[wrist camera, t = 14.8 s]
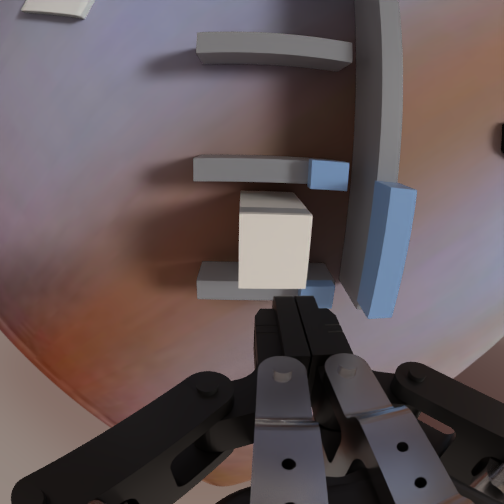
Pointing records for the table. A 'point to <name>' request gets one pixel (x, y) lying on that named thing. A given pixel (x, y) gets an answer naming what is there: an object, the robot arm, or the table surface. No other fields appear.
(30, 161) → the table surface
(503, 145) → the electric trimmer
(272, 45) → the rack
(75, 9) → the external hard drive
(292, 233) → the cream white box
